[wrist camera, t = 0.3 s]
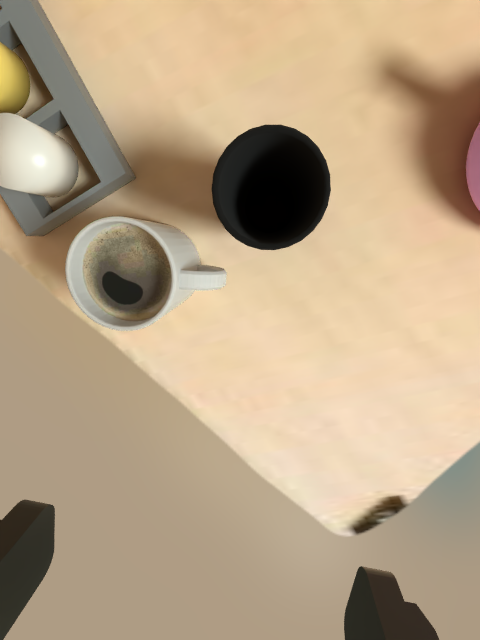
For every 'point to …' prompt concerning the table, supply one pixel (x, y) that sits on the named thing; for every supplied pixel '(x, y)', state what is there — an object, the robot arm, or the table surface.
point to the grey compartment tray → (59, 118)
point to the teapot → (474, 167)
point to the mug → (134, 271)
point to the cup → (271, 187)
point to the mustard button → (12, 81)
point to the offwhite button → (35, 158)
